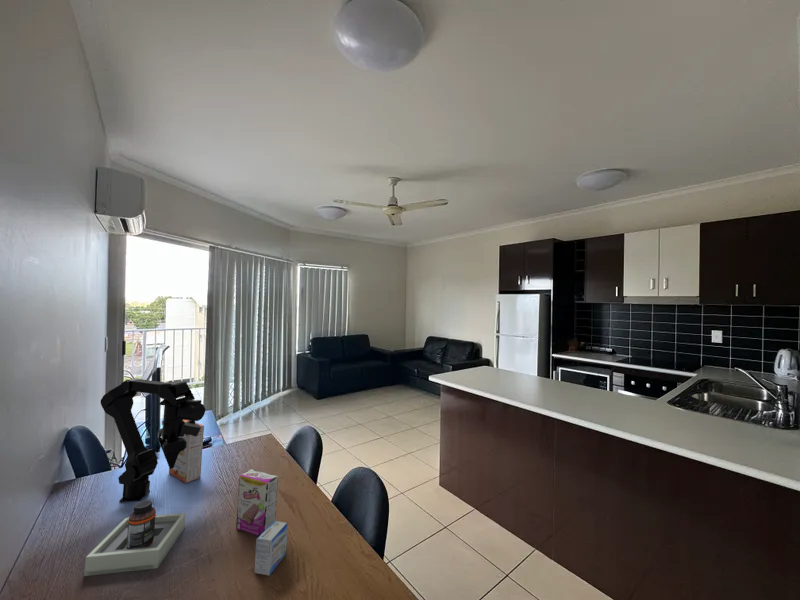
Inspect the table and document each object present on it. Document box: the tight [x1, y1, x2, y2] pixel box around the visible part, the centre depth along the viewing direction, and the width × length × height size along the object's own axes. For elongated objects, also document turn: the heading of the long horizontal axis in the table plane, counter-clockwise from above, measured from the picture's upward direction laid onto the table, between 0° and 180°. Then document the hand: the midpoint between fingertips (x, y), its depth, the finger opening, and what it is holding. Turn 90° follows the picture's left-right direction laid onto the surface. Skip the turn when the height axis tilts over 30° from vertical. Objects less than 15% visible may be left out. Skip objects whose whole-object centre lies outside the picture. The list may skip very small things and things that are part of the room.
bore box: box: [83, 512, 187, 577], centre depth 89 cm, size 16×16×4 cm
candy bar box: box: [235, 468, 279, 537], centre depth 99 cm, size 11×5×16 cm, turn 71°
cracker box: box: [168, 420, 205, 484], centre depth 130 cm, size 14×6×21 cm, turn 58°
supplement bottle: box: [127, 499, 157, 549], centre depth 89 cm, size 6×6×11 cm
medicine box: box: [254, 520, 288, 577], centre depth 86 cm, size 8×4×9 cm, turn 168°
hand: (169, 463), depth 112 cm, fingers open, 9 cm apart
